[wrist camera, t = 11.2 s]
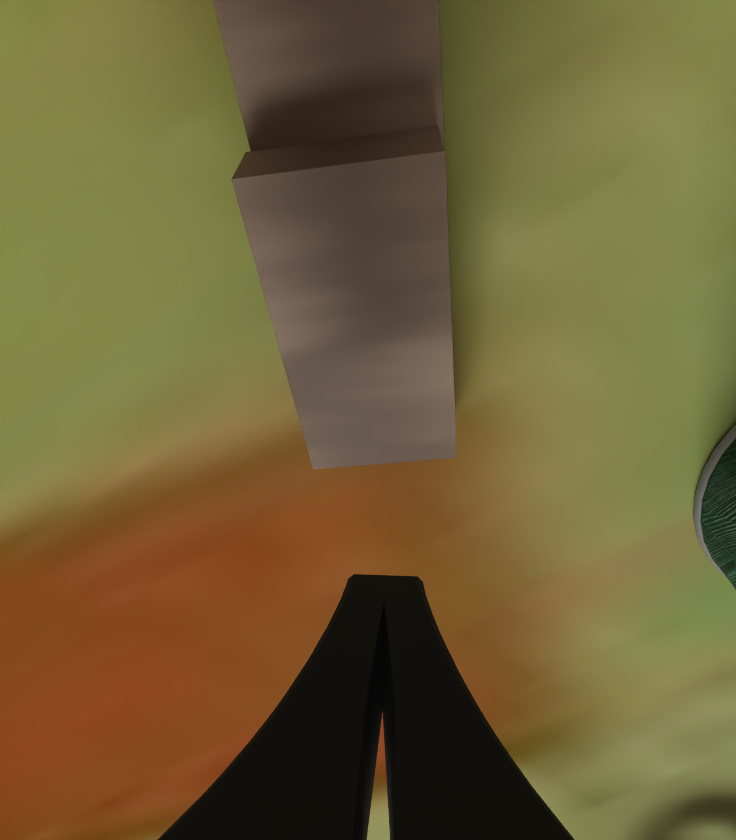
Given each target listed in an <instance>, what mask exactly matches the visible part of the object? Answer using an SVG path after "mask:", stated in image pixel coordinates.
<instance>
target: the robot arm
mask: <svg viewBox="0 0 736 840" xmlns="http://www.w3.org/2000/svg"><path fill="white" fill-rule="evenodd" d="M382 710H383V725H384V742H385V759H386V775H387V792H388V808H389V825H390V840H574V839H573V837H572V836H571V835H570V834H569V832H568V831H567V830H566V829H565V827H564V826H563V825H562V824H561V822H560V821H559V820H558V818H557V817H556V816H555V815H554V813H553V812H552V811H551V810H550V808H549V807H548V806H547V805H546V803H545V802H544V801H543V800H542V798H541V797H540V796H539V795H538V793H537V792H536V791H535V790H534V788H533V787H532V786H531V784H530V783H529V782H528V780H527V779H526V777H525V776H524V775H523V773H522V772H521V771H520V769H519V768H518V766H517V765H516V764H515V762H514V761H513V759H512V758H511V757H510V755H509V754H508V752H507V751H506V749H505V748H504V746H503V745H502V743H501V742H500V740H499V739H498V737H497V736H496V734H495V733H494V731H493V730H492V728H491V726H490V725H489V723H488V722H487V720H486V718H485V717H484V715H483V713H482V712H481V710H480V708H479V707H478V705H477V703H476V702H475V700H474V698H473V696H472V695H471V693H470V691H469V689H468V688H467V686H466V684H465V682H464V680H463V678H462V677H461V675H460V673H459V671H458V669H457V667H456V665H455V663H454V661H453V659H452V657H451V655H450V653H449V651H448V649H447V647H446V644H445V642H444V640H443V638H442V636H441V634H440V631H439V629H438V627H437V624H436V622H435V619H434V617H433V614H432V612H431V609H430V606H429V603H428V600H427V597H426V593H425V590H424V585H423V582H422V581H421V580H420V579H419V578H418V577H417V576H388V575H359V574H354V575H353V576H351V577H350V578H349V579H348V581H347V584H346V587H345V590H344V592H343V595H342V597H341V600H340V602H339V604H338V606H337V608H336V610H335V612H334V614H333V616H332V618H331V620H330V622H329V624H328V626H327V628H326V630H325V632H324V633H323V635H322V637H321V639H320V640H319V642H318V644H317V646H316V647H315V649H314V651H313V653H312V654H311V656H310V658H309V659H308V661H307V662H306V664H305V666H304V667H303V669H302V670H301V672H300V673H299V675H298V676H297V678H296V679H295V681H294V682H293V684H292V685H291V687H290V688H289V690H288V691H287V693H286V694H285V696H284V697H283V699H282V700H281V701H280V703H279V704H278V705H277V707H276V708H275V710H274V711H273V712H272V714H271V715H270V716H269V718H268V719H267V720H266V721H265V723H264V724H263V725H262V727H261V728H260V729H259V730H258V732H257V733H256V734H255V735H254V737H253V738H252V739H251V740H250V742H249V743H248V744H247V745H246V746H245V748H244V749H243V750H242V751H241V752H240V753H239V755H238V756H237V757H236V758H235V759H234V760H233V762H232V763H231V764H230V765H229V766H228V767H227V769H226V770H225V771H224V772H223V773H222V774H221V775H220V776H219V778H218V779H217V780H216V781H215V782H214V783H213V784H212V785H211V786H210V787H209V788H208V790H207V791H206V792H205V793H204V794H203V795H202V796H201V797H200V798H199V799H198V800H197V801H196V802H195V803H194V804H193V805H192V806H191V807H190V808H189V809H188V810H187V811H186V812H185V813H184V814H183V815H182V816H181V817H180V818H179V819H178V820H177V821H176V822H175V823H174V824H173V825H172V826H171V827H170V828H169V829H168V830H167V831H166V832H165V833H164V834H163V835H162V836H161V837H160V838H159V839H158V840H367V831H368V823H369V815H370V807H371V799H372V791H373V783H374V775H375V767H376V759H377V751H378V742H379V734H380V726H381V718H382Z"/></svg>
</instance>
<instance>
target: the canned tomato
mask: <svg viewBox="0 0 736 840" xmlns="http://www.w3.org/2000/svg"><path fill="white" fill-rule="evenodd" d="M693 516H694V522H695V528H696V534H697V537H698V539H699V541H700V544H701V546H702V548H703V550H704V552H705V554H706V556H707V557H708V558H709V560H710V561H711V562H712V563H713V564H714V566H715V567H716V568H717V569H718V570H719V572H721V573H722V574H723V575H724V576H726V577H727V578H728V579H729V581H730V582H731V583H732V585H733V586H734V588H735V589H736V425H735V426H734V427H732V428H731V430H730V431H729V432H728V433H727V435H726V436H725V437H724V438H723V440H722V441H721V442H720V443H719V444H718V446H717V447H716V448H715V449H714V451H713V453H712V455H711V457H710V458H709V460H708V462H707V464H706V466H705V467H704V469H703V471H702V474H701V477H700V480H699V483H698V486H697V490H696V493H695V501H694V514H693Z"/></svg>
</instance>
